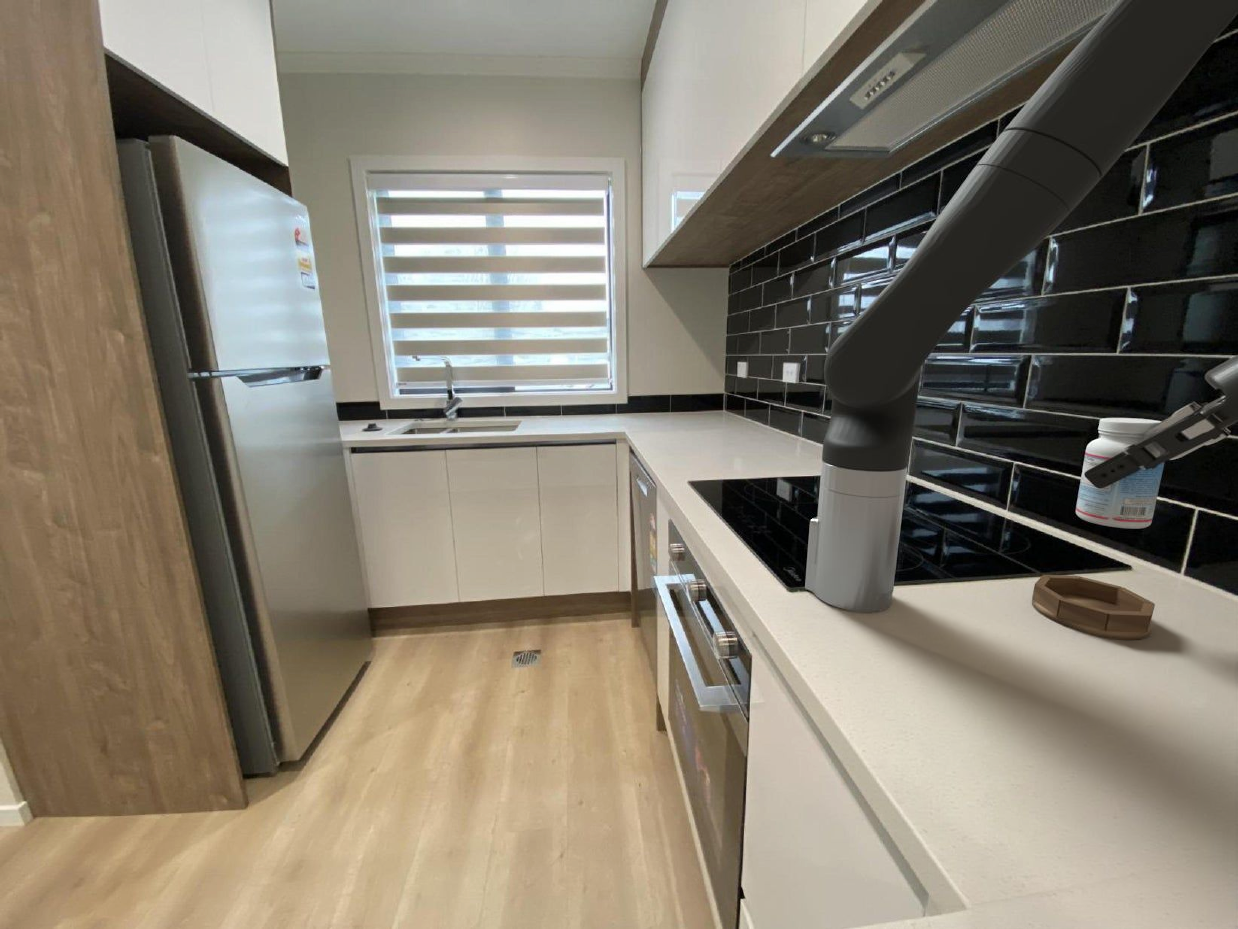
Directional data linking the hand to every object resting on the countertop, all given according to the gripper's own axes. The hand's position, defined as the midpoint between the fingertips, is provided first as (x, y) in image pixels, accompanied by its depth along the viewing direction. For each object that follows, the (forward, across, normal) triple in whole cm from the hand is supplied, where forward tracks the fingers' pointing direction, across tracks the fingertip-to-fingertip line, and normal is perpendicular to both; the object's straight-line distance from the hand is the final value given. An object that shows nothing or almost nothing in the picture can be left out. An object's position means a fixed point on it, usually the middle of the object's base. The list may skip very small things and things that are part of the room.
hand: (1097, 476), depth 55 cm
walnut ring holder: (+11, 0, +13) cm, 16 cm away
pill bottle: (+2, 0, +5) cm, 5 cm away
